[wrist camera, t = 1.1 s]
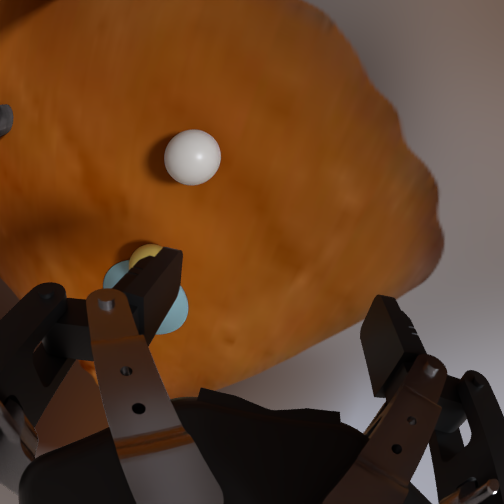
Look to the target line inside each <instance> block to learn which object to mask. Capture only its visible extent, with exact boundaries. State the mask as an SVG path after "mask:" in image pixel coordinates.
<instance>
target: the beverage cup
mask: <svg viewBox="0 0 504 504" xmlns="http://www.w3.org/2000/svg"><path fill="white" fill-rule="evenodd" d="M12 124H13V112H12V109H11V107H10V106H9V105H7V104H5V105H0V137H1V136H2V135H5V134H7V133H8V132H9V131H10V129H11V127H12Z"/></svg>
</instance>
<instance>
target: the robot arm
mask: <svg viewBox="0 0 504 504" xmlns="http://www.w3.org/2000/svg"><path fill="white" fill-rule="evenodd" d="M182 259H183V253H182V251H181V250H177V249H172V248H168V247H163V248H162V249H161V250H160V251H159V252H158V253H157V255H156V256H155V257H154V256H150V255H149V256H147V257H145V258H142V259H140V260H139V261H138V262H137V263H136V264H135V265H134V266H133V268H131V269H130V270H129V271H128V273H126V274H125V275H124V276H123V277H122V278H121V279H120V280H119V281H118V282H117V283H116V284H115V285H114V287H113V288H112V289H111V288H104V289H99V290H96V291H94V292H92V293H91V294H89V296H88V297H87V299H86V300H85V299H74V298H67V297H66V291H65V289H64V287H63V286H62V285H60V284H58V283H52V282H49V283H43V284H40V285H37V286H36V287H34V288H33V289H32V290H31V291H30V292H29V293H27V294H26V295H25V296H24V297H23V298H22V299H21V300H20V301H19V302H18V303H17V304H16V305H15V306H14V307H13V308H12V309H11V310H10V311H9V312H8V313H7V314H6V315H5V316H4V317H3V318H2V319H1V320H0V484H2V485H3V486H4V487H6V488H7V489H9V490H10V491H11V492H13V493H15V494H16V495H18V496H19V504H432V503H431V502H430V501H429V500H428V499H427V498H426V497H425V496H424V495H423V494H422V493H420V491H419V490H418V489H417V488H416V487H415V486H414V485H413V484H412V483H411V482H410V480H411V478H412V476H413V474H414V472H415V470H416V468H417V466H418V464H419V462H420V460H421V458H422V456H423V454H424V452H425V449H426V447H427V445H428V443H429V447H430V452H431V457H432V462H433V468H434V474H435V480H436V487H437V493H438V502H439V504H504V416H503V414H502V411H501V409H500V407H499V404H498V402H497V400H496V397H495V395H494V393H493V391H492V389H491V386H490V384H489V382H488V381H487V379H486V378H485V377H484V376H483V375H482V374H480V373H479V372H477V371H474V370H469V371H467V372H465V374H464V375H463V376H462V378H461V379H458V378H455V377H452V376H449V375H447V369H446V367H445V365H444V364H443V363H442V362H441V361H440V360H439V359H438V358H436V357H434V356H432V355H429V354H427V353H426V351H425V349H424V347H423V344H422V342H421V340H420V338H419V336H418V335H417V332H416V330H415V329H414V326H413V324H412V322H411V320H410V318H409V317H408V316H407V315H406V314H405V313H404V312H403V311H401V309H400V307H399V305H398V303H397V301H396V299H395V298H393V297H388V296H384V295H377V296H376V297H375V298H374V300H373V302H372V305H371V307H370V309H369V311H368V313H367V316H366V318H365V320H364V322H363V324H362V327H361V331H360V339H361V343H362V347H363V351H364V355H365V359H366V363H367V367H368V372H369V376H370V380H371V385H372V389H373V394H374V397H379V398H386V402H385V403H384V404H383V406H382V407H381V409H380V410H379V412H378V413H377V415H376V416H375V417H374V419H373V420H372V422H371V423H370V425H369V426H368V427H367V429H366V430H365V432H364V433H361V432H360V431H358V430H357V429H355V428H353V427H351V426H349V425H347V424H344V423H342V422H341V421H340V412H336V411H326V410H317V409H309V408H305V409H291V410H269V409H266V408H264V407H261V406H259V405H256V404H254V403H252V402H249V401H247V400H244V399H242V398H240V397H237V396H234V395H230V394H225V393H221V392H217V391H213V390H209V389H205V388H201V389H200V392H199V395H198V397H181V398H174V399H170V398H169V396H168V394H167V392H166V389H165V387H164V385H163V382H162V380H161V378H160V375H159V373H158V370H157V368H156V366H155V363H154V361H153V358H152V355H151V353H150V350H149V348H148V346H149V344H150V343H151V341H152V339H153V338H154V336H155V334H156V332H157V331H158V329H159V327H160V326H161V324H162V322H163V320H164V319H165V317H166V315H167V314H168V312H169V310H170V309H171V307H172V305H173V304H174V302H175V300H176V299H177V296H178V293H179V290H180V283H181V270H182ZM41 340H42V343H41V344H40V345H39V347H38V348H37V349H36V351H35V352H34V349H35V347H36V346H37V345H38V344H39V343H40V341H41ZM33 352H34V353H33ZM76 359H79V360H88V361H94V364H95V370H96V374H97V379H98V384H99V388H100V393H101V396H102V401H103V405H104V409H105V412H106V416H107V420H108V423H109V427H108V428H106V429H104V430H102V431H100V432H97V433H95V434H92V435H90V436H88V437H85V438H83V439H81V440H78V441H76V442H73V443H71V444H68V445H66V446H63V447H61V448H58V449H55V450H53V451H50V452H48V453H45V454H43V455H41V456H39V457H37V458H36V459H35V455H36V449H37V445H38V435H37V433H36V430H35V428H34V427H35V426H36V424H37V422H38V420H39V419H40V417H41V415H42V413H43V412H44V410H45V408H46V407H47V405H48V403H49V401H50V400H51V398H52V397H53V395H54V393H55V391H56V390H57V389H58V387H59V385H60V383H61V382H62V381H63V379H64V377H65V376H66V374H67V372H68V371H69V370H70V368H71V366H72V365H73V363H74V362H75V360H76ZM466 419H467V420H468V423H469V426H470V429H471V434H472V435H471V439H470V442H469V443H468V445H467V446H465V447H464V444H463V440H462V437H461V433H460V430H459V427H460V425H462V423H463V422H464V421H465V420H466Z"/></svg>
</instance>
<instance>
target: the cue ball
mask: <svg viewBox="0 0 504 504" xmlns="http://www.w3.org/2000/svg"><path fill="white" fill-rule="evenodd" d="M220 160H221V153H220V149H219V146H218V144H217V142H216V140H215V139H214V138H213V137H212V136H211V135H209V134H208V133H206V132H204V131H201V130H186V131H183V132H181V133H179V134H177V135H176V136H174V137H173V138H172V139H171V141H170V142H169V143H168V145H167V147H166V150H165V154H164V162H165V167H166V169H167V171H168V173H169V174H170V176H171V177H172V178H173V179H175V180H176V181H178V182H179V183H182V184H185V185H198V184H201V183H204V182H206V181H207V180H209V179H210V178H211V177H212V176H213V175H214V174H215V173H216V171H217V170H218V167H219V165H220Z"/></svg>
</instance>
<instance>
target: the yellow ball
mask: <svg viewBox="0 0 504 504" xmlns="http://www.w3.org/2000/svg"><path fill="white" fill-rule="evenodd" d="M162 248H163V247H162V246H159V245H156V244H146V245H143V246H141V247H139V248H138V249H137V250H135V251H134V253H133V254H132V256H131V258H130V261H129V270H130V269H131V268H133V266H134V265H135V264H136V263H137V262H138V261H139V260H140V259H142V258H145V257H147V256H149V255H150V256H154V257H155V256H156V255H157V253H158V252H159V251H160V250H161V249H162Z"/></svg>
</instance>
